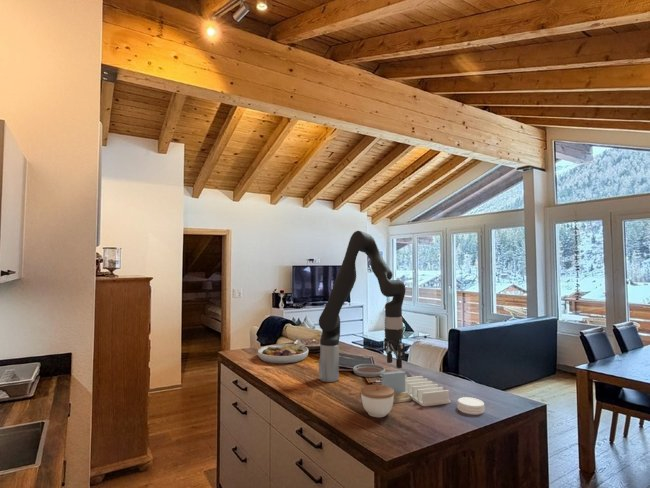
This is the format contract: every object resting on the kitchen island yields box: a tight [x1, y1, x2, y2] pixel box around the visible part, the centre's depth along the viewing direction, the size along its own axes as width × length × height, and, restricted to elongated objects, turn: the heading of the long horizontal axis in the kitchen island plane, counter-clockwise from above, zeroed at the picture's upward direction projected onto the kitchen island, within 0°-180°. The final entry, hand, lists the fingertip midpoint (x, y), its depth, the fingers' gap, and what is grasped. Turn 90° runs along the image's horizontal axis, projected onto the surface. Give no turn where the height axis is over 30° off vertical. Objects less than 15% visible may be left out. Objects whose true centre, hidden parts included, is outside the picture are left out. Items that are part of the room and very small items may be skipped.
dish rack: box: [405, 375, 452, 407], centre depth 168 cm, size 13×22×5 cm, turn 17°
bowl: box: [257, 343, 309, 365], centre depth 231 cm, size 30×30×8 cm
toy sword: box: [352, 363, 386, 381], centre depth 197 cm, size 17×3×28 cm
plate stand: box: [393, 392, 412, 404], centre depth 164 cm, size 12×8×3 cm, turn 107°
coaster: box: [456, 396, 485, 416], centre depth 153 cm, size 10×10×4 cm
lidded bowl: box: [360, 383, 394, 418], centre depth 149 cm, size 13×13×11 cm
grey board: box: [381, 370, 406, 393], centre depth 164 cm, size 10×2×10 cm, turn 107°
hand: (394, 365), depth 165 cm, fingers open, 8 cm apart
